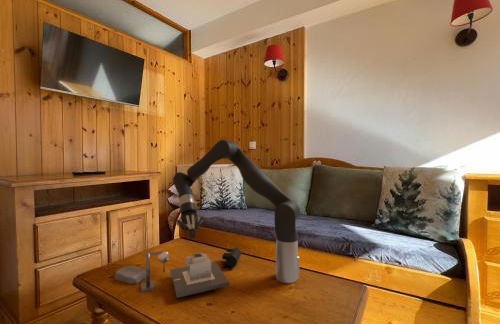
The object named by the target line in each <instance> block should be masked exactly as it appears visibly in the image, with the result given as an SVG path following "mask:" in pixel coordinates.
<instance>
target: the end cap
mask: <svg viewBox="0 0 500 324" xmlns="http://www.w3.org/2000/svg"><path fill="white" fill-rule="evenodd" d="M241 256H242V251H241V249H240V248H238V247H234V248H226V250H225V252H224V253H223V254H222V260H225V261H222V263H221V264H222V268H223V269H228V270H232V269H234V268H235V267H236V266H237V264H238V262H239V261H240V258H241Z"/></svg>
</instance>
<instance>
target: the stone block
mask: <svg viewBox="0 0 500 324" xmlns="http://www.w3.org/2000/svg"><path fill="white" fill-rule="evenodd" d="M114 277H115V278H114V279H115V280H116V281H118V282H121V283H125V284H128V285H129V284H130V285H137V284H139V283H141V282H142V281H143V280H146V267H142V268H141V267H138V266H136V265H127V266H126V265H125V266H124V267H121V268H120V269H117V270H116V272H115V274H114Z"/></svg>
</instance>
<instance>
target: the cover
mask: <svg viewBox="0 0 500 324" xmlns="http://www.w3.org/2000/svg"><path fill="white" fill-rule="evenodd" d="M211 262H212V260H211V259H210V257H209V256H208V255H207V253H204V252H198V253H191V255H189V256H186V258H185V267H186V274H187V277H188V279H189V281H190V283H191V282H196V281H201V280H206V279H210V278H211Z"/></svg>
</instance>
